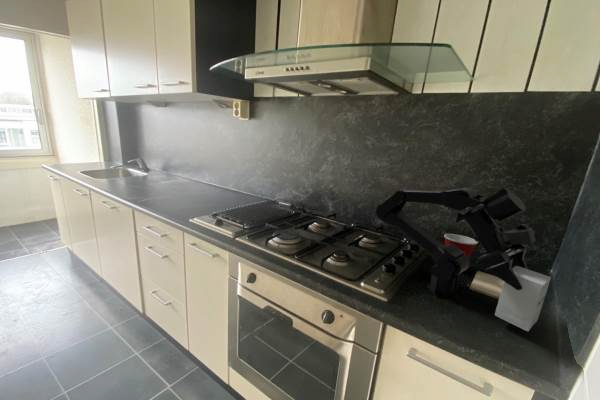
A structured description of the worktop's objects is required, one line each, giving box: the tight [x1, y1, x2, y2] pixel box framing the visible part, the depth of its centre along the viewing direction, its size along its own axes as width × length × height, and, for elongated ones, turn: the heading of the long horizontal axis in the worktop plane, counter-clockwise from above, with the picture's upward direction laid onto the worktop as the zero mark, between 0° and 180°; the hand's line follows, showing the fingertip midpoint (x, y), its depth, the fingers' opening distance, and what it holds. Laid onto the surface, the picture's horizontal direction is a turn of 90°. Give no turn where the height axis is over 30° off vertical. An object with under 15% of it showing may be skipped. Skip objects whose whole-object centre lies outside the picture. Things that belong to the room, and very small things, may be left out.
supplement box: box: [494, 266, 552, 332], centre depth 68 cm, size 7×7×13 cm
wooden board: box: [469, 270, 504, 300], centre depth 88 cm, size 15×15×1 cm
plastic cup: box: [443, 233, 479, 259], centre depth 100 cm, size 11×11×12 cm
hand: (525, 284), depth 68 cm, fingers closed on supplement box, 7 cm apart
